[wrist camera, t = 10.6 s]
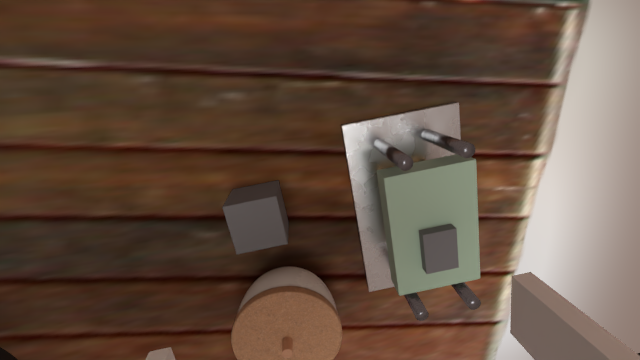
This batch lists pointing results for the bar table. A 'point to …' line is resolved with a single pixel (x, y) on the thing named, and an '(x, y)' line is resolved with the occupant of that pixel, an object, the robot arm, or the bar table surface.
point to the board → (431, 223)
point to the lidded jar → (287, 318)
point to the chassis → (402, 151)
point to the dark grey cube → (257, 217)
